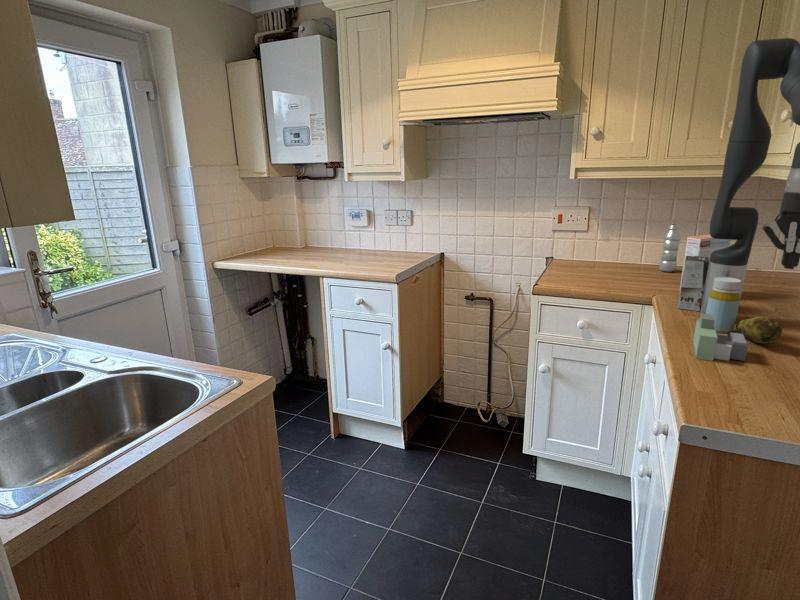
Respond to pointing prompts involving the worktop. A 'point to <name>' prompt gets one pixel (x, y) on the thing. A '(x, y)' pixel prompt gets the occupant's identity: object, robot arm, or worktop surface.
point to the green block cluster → (709, 340)
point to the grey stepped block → (735, 345)
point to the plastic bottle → (670, 249)
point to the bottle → (724, 303)
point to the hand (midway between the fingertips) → (788, 268)
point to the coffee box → (693, 282)
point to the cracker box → (703, 247)
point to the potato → (760, 329)
